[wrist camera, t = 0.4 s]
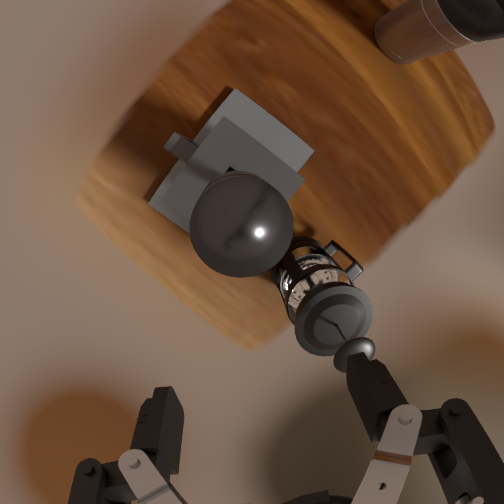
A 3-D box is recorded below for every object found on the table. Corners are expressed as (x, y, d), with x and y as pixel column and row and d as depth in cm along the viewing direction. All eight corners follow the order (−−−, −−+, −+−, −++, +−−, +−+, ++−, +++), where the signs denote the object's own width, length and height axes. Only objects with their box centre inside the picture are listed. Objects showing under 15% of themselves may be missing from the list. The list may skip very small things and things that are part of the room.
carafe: (207, 115, 37) (197, 96, 23) (278, 169, 40) (306, 179, 26) (166, 170, 39) (135, 182, 25) (236, 221, 42) (242, 258, 28)
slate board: (234, 90, 37) (235, 88, 36) (312, 150, 41) (314, 150, 40) (149, 202, 41) (147, 203, 40) (227, 257, 45) (227, 259, 44)
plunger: (228, 153, 26) (232, 155, 12) (266, 182, 27) (313, 219, 13) (198, 192, 27) (169, 239, 13) (237, 220, 28) (250, 294, 14)
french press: (294, 306, 49) (338, 409, 27) (254, 270, 46) (279, 371, 24) (347, 257, 47) (426, 336, 25) (310, 216, 44) (385, 279, 22)
